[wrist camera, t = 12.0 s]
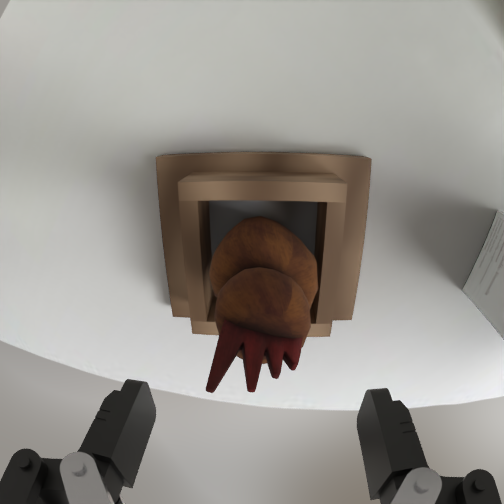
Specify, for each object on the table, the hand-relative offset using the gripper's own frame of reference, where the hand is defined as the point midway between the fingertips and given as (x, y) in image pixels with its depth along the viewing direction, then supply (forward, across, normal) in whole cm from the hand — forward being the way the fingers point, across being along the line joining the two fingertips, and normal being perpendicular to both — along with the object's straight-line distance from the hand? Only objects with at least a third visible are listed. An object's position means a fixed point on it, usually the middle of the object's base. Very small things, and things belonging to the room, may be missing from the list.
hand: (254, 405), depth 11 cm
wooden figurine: (+15, 0, 0) cm, 15 cm away
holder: (+17, 0, 0) cm, 17 cm away
